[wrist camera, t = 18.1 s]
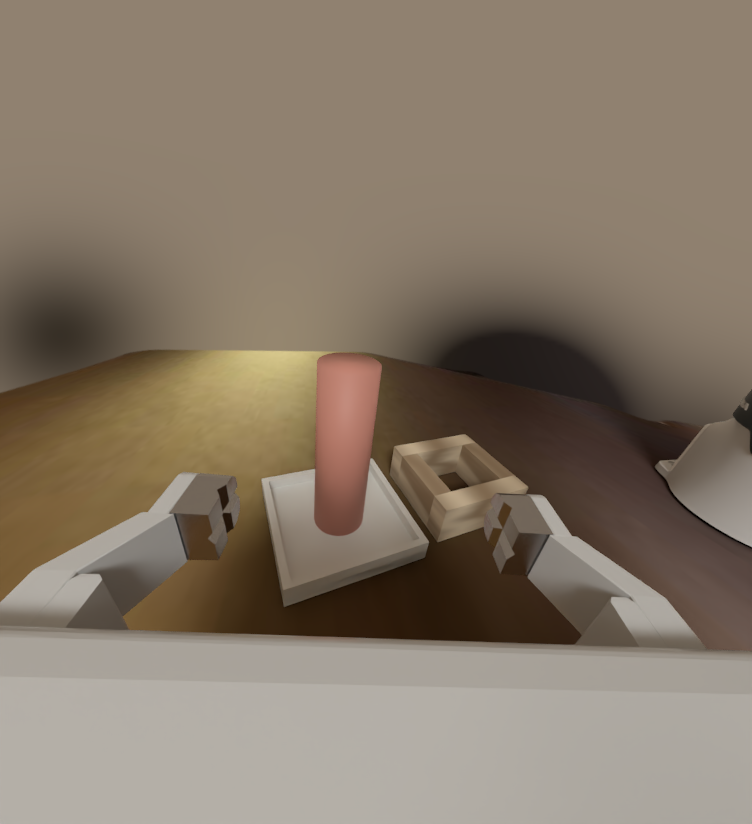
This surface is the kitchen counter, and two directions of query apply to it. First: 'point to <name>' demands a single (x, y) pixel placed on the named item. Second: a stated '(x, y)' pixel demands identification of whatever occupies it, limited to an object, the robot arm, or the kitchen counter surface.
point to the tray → (336, 555)
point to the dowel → (344, 439)
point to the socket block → (434, 499)
